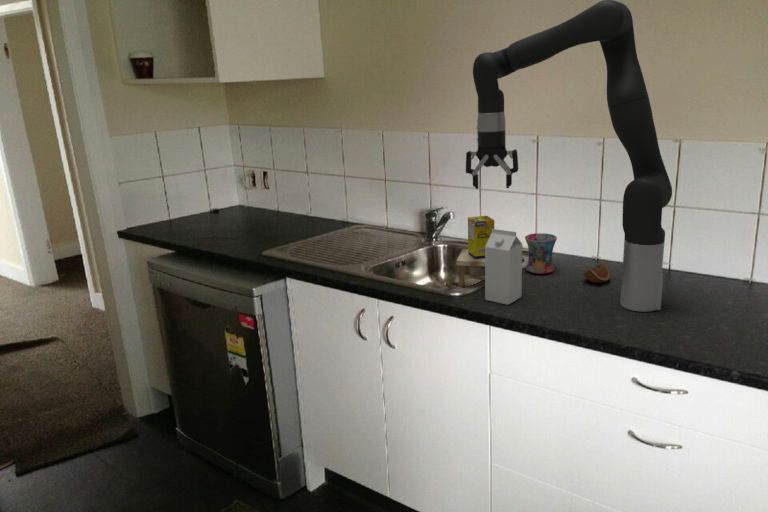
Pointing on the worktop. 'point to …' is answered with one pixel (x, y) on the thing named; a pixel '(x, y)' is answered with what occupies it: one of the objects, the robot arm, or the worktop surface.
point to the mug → (540, 252)
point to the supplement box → (479, 235)
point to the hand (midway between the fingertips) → (492, 188)
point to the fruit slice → (598, 273)
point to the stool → (468, 266)
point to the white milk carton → (503, 267)
